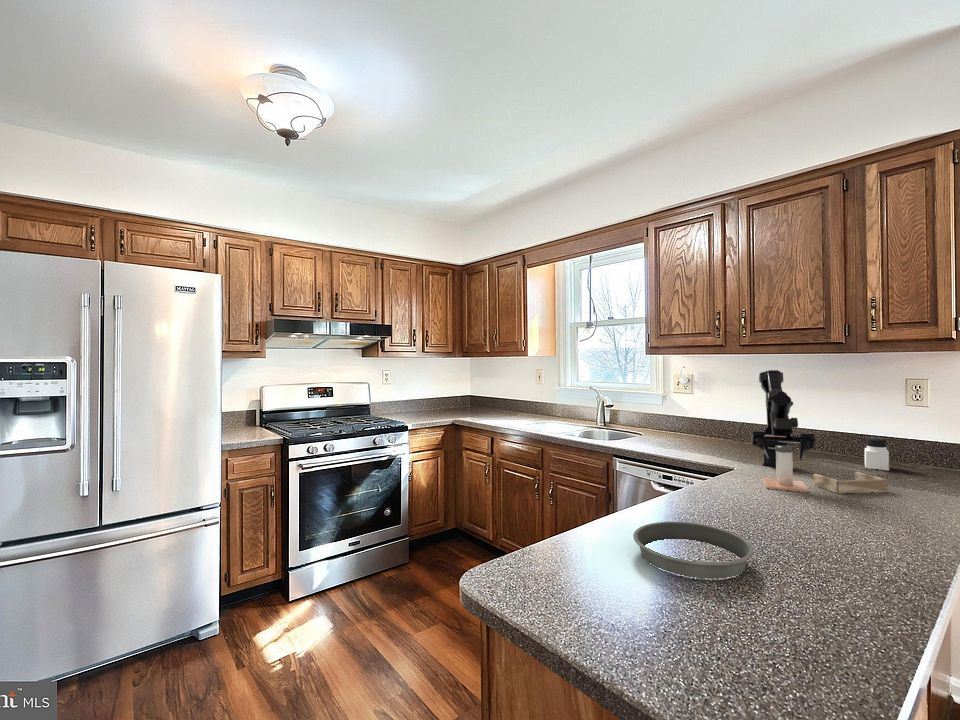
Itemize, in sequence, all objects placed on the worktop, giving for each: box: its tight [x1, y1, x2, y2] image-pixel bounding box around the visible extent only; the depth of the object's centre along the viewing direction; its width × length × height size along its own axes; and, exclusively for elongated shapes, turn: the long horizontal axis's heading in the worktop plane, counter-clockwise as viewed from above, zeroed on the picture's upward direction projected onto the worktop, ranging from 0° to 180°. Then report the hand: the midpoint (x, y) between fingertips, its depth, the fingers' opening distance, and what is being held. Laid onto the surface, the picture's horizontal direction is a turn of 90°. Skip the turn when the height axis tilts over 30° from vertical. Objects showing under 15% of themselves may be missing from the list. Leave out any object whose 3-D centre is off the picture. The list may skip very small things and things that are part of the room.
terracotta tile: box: [762, 477, 810, 493], centre depth 162 cm, size 12×12×1 cm
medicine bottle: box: [864, 436, 891, 472], centre depth 185 cm, size 7×7×12 cm
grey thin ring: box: [632, 521, 754, 579], centre depth 105 cm, size 25×25×4 cm
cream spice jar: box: [775, 445, 794, 486], centre depth 162 cm, size 5×5×13 cm
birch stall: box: [812, 471, 889, 495], centre depth 157 cm, size 11×17×4 cm, turn 96°
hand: (784, 459), depth 161 cm, fingers open, 9 cm apart
